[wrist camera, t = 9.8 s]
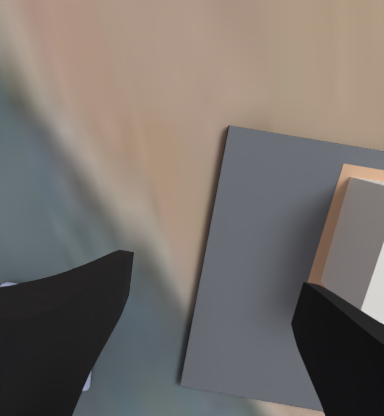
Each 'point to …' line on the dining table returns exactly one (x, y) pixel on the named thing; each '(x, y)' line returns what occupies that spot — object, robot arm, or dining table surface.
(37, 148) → the dining table surface
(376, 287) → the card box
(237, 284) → the mat
